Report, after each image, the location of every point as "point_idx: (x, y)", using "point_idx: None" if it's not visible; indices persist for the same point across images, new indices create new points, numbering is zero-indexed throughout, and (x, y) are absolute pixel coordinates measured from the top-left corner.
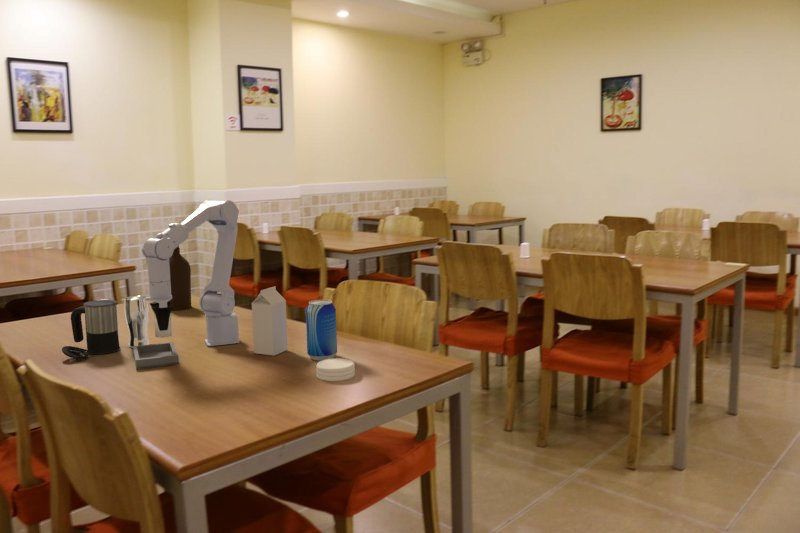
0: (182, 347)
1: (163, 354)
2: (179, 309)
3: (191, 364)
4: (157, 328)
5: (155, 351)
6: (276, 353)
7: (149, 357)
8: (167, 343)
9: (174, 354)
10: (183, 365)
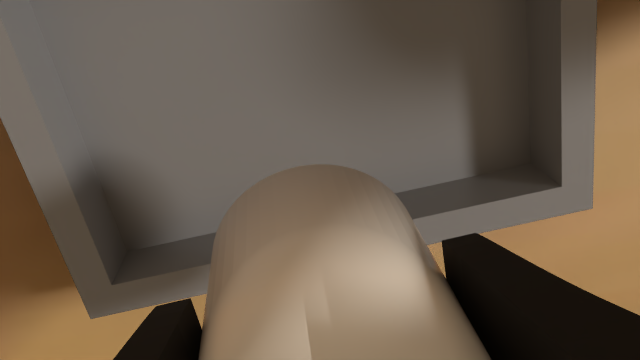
0: (611, 231)
1: (389, 132)
2: None
3: (99, 351)
4: (227, 277)
5: (521, 46)
6: None
7: (322, 18)
8: (561, 169)
9: (120, 287)
10: (79, 306)
